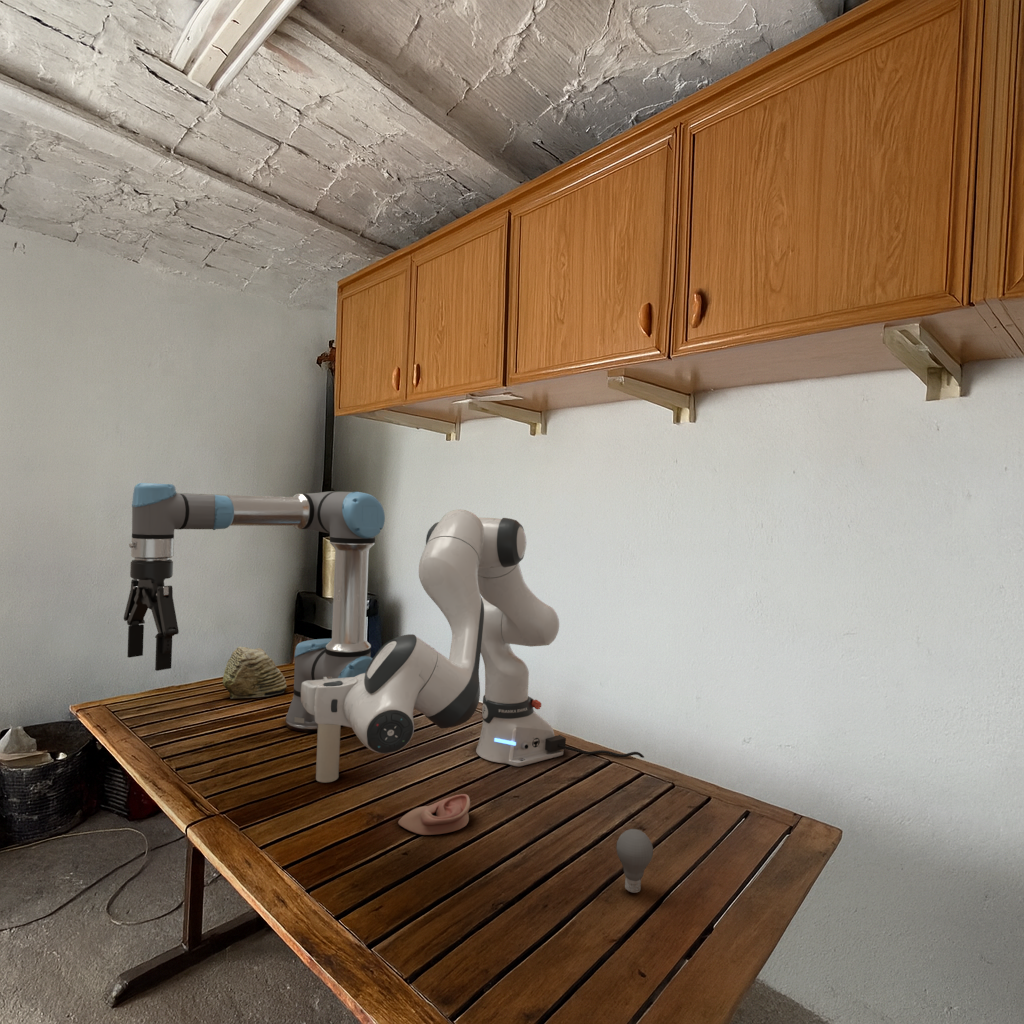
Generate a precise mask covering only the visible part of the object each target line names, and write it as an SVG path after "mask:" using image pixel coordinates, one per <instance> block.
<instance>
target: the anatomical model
mask: <svg viewBox="0 0 1024 1024" xmlns="http://www.w3.org/2000/svg"><path fill="white" fill-rule="evenodd" d="M470 808H471V799H470V796H469V795H468V794H466V793H461V794H456V795H452V796H448V797H447V798H443V799H441V800H439V801H436V802H435V803H432V804H430V805H425V806H419V807H416V808H413V809H411V810H410V811H408V812H407V813H405V814H404V815H403V816H402V817H400V818H399V820H398V822H397V823H398V825H399V826H400V827H402V828H403V829H405V830H406V831H409V832H411V833H413V834H417V835H421V836H431V835H432V836H433V835H442V834H448V833H452V832H456V831H459V830H461V829H463V828H464V827H466V826H467V825H468V823H469V821H470V816H469V810H470Z"/></svg>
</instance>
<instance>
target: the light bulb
mask: <svg viewBox="0 0 1024 1024" xmlns="http://www.w3.org/2000/svg"><path fill="white" fill-rule="evenodd" d="M615 849H616V854H617V857H618V859H619V861H620V863H621V865H622V867H623V873H624V874H623V875H624V876H625V878H624V888H625V890H627V891H628V892H630V893H634V894H635V893H639V892H640V891H641V889H642V887H641V886H642V879H643V877H644V875H645V871H646V868H647V867H648V866H649V864H650V863H651V861H652V859H653V855H654V847H653V843H652V841H651V838H649V836H648V835H647V834H646V833H645V832H643V831H642V830H641V829H636V828H629V829H627V830H625V831H623V832H622V833H621V834H620V835H619V837H618V839H617V841H616V847H615Z"/></svg>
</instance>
